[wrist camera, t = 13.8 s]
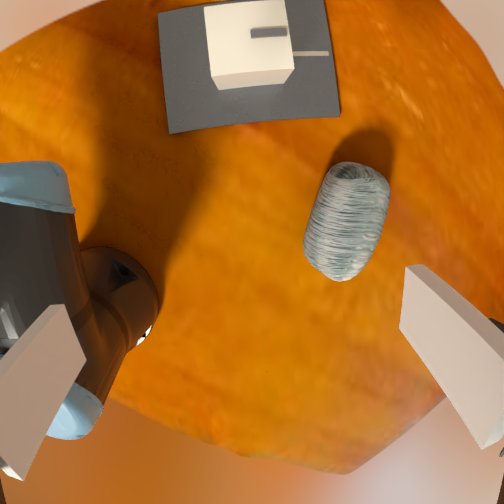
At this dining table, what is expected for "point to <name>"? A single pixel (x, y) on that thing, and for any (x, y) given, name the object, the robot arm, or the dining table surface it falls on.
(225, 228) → the dining table surface
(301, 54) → the gray board
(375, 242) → the spool
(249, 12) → the white drawer box
